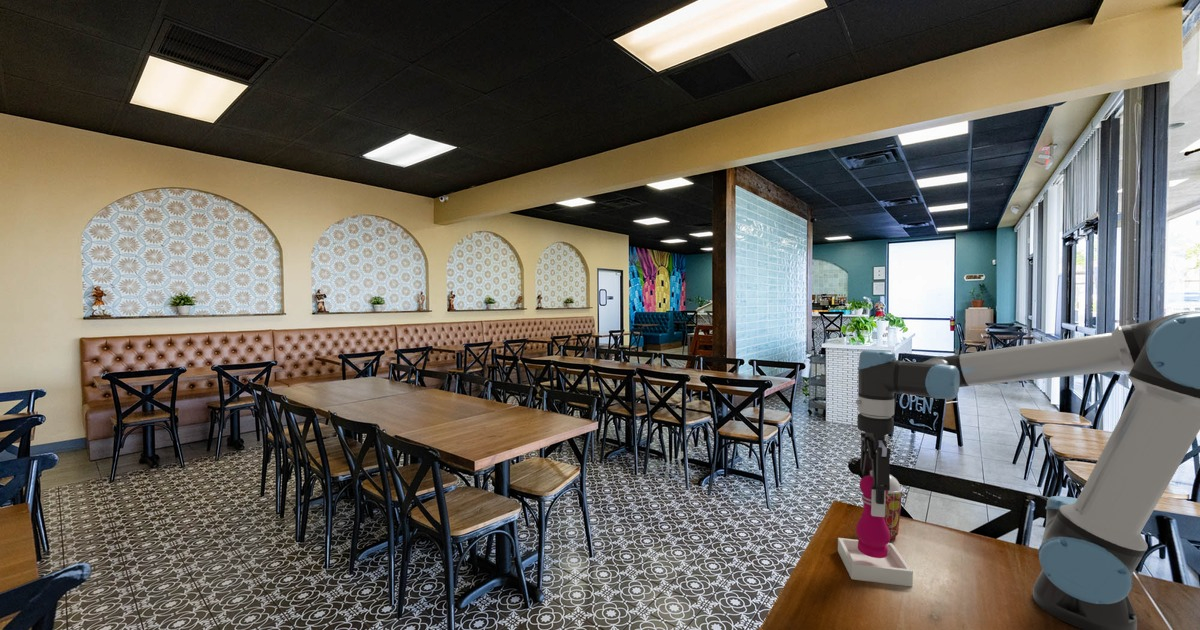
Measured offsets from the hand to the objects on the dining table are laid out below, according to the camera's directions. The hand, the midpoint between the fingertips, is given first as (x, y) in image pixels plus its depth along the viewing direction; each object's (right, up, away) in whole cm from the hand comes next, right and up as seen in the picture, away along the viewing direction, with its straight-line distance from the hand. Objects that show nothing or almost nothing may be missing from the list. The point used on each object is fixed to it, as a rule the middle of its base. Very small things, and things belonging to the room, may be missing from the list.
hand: (873, 509), depth 115 cm
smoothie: (+12, -14, +16) cm, 24 cm away
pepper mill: (0, -11, 0) cm, 11 cm away
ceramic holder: (0, -14, +1) cm, 14 cm away
